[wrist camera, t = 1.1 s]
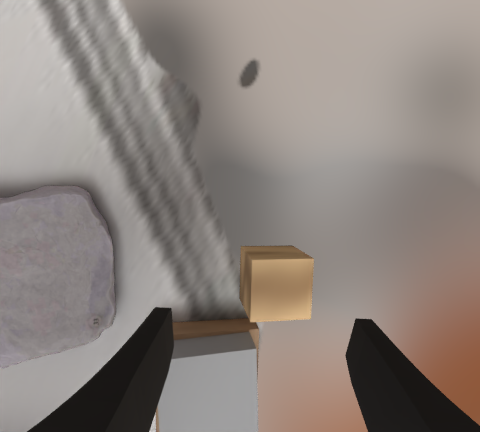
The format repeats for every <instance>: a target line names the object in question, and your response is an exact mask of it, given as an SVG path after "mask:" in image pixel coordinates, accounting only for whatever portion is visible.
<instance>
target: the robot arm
mask: <svg viewBox="0 0 480 432" xmlns="http://www.w3.org/2000/svg"><path fill="white" fill-rule="evenodd" d="M173 349H174V336H173V323H172V310H171V308H160V307H156V308H155V309H153V311H152V312H151V313H150V314H149V316H148V317H147V318H146V319H145V321H144V322H143V323H142V324H141V326H140V327H139V328H138V329H137V330H136V332H135V333H134V334H133V335H132V336H131V337H130V339H129V340H128V341H127V342H126V343H125V344H124V345H123V346H122V348H121V349H120V350H119V351H118V352H117V353H116V354H115V355H114V356H113V357H112V358H111V359H110V360H109V361H108V362H107V363H106V364H105V365H104V366H103V367H102V369H101V370H100V371H99V372H98V373H97V374H95V375H94V376H93V377H92V378H91V379H90V380H89V381H88V382H87V383H86V384H85V385H84V386H83V387H82V388H80V389H79V390H78V391H77V392H76V393H75V394H74V395H73V396H71V397H70V398H69V399H68V400H67V401H65V402H64V403H63V404H62V405H61V406H59V407H58V408H57V409H56V410H55V411H54V412H52V413H51V414H50V415H49V416H47V417H46V418H45V419H43V420H42V421H41V422H40V423H38V424H37V425H36V426H34V427H33V428H31V429H30V430H29V431H27V432H149V430H150V427H151V424H152V421H153V418H154V415H155V412H156V409H157V406H158V403H159V400H160V397H161V394H162V391H163V388H164V385H165V382H166V379H167V375H168V372H169V368H170V363H171V359H172V354H173ZM346 360H347V365H348V370H349V374H350V378H351V383H352V386H353V389H354V392H355V394H356V398H357V400H358V404H359V406H360V409H361V412H362V415H363V418H364V421H365V424H366V427H367V429H368V432H480V426H479V425H478V424H477V423H476V422H475V421H473V420H472V419H471V418H470V417H469V416H468V415H466V414H465V413H464V412H463V411H462V410H461V409H459V408H458V407H457V406H456V405H455V404H454V403H452V402H451V401H450V400H449V399H448V398H447V397H446V396H445V395H444V394H443V393H441V391H440V390H439V389H437V388H436V387H435V386H434V385H433V384H432V383H431V382H430V381H429V380H428V379H427V378H426V377H425V376H424V375H423V374H422V373H421V372H420V371H419V370H418V369H417V368H416V367H415V366H414V365H413V364H412V363H411V362H410V361H409V360H408V359H407V358H406V357H405V355H403V353H402V352H401V351H400V350H399V349H398V348H397V347H396V346H395V345H394V344H393V342H392V341H391V340H390V339H389V338H388V337H387V336H386V335H385V334H384V333H383V331H382V330H381V329H380V328H379V327H378V326H377V325H376V324H375V323H374V322H373V320H371V319H356V320H355V323H354V327H353V330H352V334H351V338H350V341H349V345H348V349H347V352H346Z"/></svg>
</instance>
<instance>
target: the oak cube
mask: <svg viewBox="0 0 480 432" xmlns="http://www.w3.org/2000/svg"><path fill="white" fill-rule="evenodd" d="M313 262H314V259H313V258H312V257H310V256H309V255H307V254H305V253H304V252H302V251H300V250H299V249H297V248H295V247H294V246H241V259H240V300H241V303H242V305H243V307H244V309H245V312H246V314H247V316H248V318H249V321H250V322H266V321H283V320H300V319H311V303H312V283H313V264H314V263H313Z"/></svg>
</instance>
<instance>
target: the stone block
mask: <svg viewBox="0 0 480 432" xmlns="http://www.w3.org/2000/svg"><path fill="white" fill-rule="evenodd" d="M113 266H114V256H113V244H112V239H111V236H110V235H109V233H108V227H107V222H106V221H105V219H104V218H103V217H102V215H101V214H100V212H99V211H98V210H97V208H96V206H95V204H94V202H93V200H92V198H91V195H90V194H89V193H88V191H86V190H85V189H82V188H80V187H79V186H55V185H51V186H42V187H40V188H37V189H35V190H32V191H29V192H24V193H22V194H18V195H16V196H12V197H7V198H0V368H6V367H8V366H10V365H13V364H18V363H20V362H22V361H25V360H29V359H33V358H37V357H42V356H45V355H49V354H53V353H59V352H62V351H65V350H68V349H71V348H75V347H78V346H82V345H85V344H87V343H90V342H92V341H94V340H95V339H97V338H98V337H99V336H100V334H101V333H102V331H103V330H104V329H106V328H108V327H110V326H111V325H112V324H113V320H114V318H115V315H116V302H115V291H114V281H115V275H114V271H113Z"/></svg>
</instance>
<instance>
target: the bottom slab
mask: <svg viewBox="0 0 480 432" xmlns="http://www.w3.org/2000/svg"><path fill="white" fill-rule="evenodd" d="M172 323H173V336H174V340H180V339H188V338H197V337H206V336H215V335H224V334H232V333H241V332H250V334H251V337H252V339H253V342H254V344H255V346H256V350H257V372H258V343H259V328H258V326H257V324H256V322H250V321H249V318H242V319H224V320H207V321H189V322H172ZM257 375H258V373H257ZM156 432H159V417H158V406H157V409H156Z"/></svg>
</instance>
